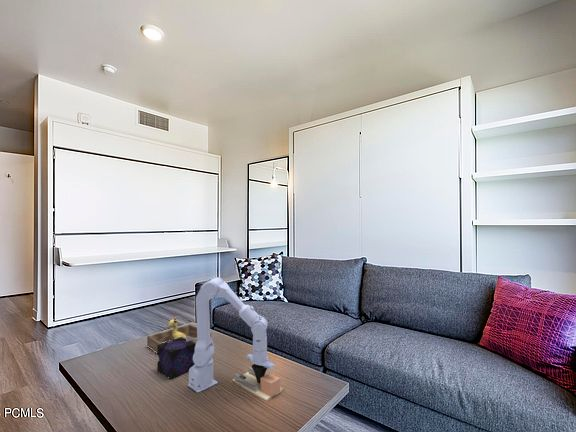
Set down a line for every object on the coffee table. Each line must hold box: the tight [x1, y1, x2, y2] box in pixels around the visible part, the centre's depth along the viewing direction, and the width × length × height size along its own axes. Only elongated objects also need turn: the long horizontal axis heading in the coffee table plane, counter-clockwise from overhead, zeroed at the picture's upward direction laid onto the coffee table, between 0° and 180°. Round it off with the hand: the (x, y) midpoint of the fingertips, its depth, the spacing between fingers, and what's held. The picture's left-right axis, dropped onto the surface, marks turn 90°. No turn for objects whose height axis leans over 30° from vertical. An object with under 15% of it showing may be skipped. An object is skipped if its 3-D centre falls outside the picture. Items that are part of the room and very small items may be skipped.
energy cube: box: [156, 337, 195, 380], centre depth 137 cm, size 12×12×12 cm
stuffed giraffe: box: [166, 316, 195, 343], centre depth 163 cm, size 16×18×16 cm
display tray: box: [146, 323, 212, 352], centre depth 163 cm, size 25×23×6 cm
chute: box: [231, 366, 285, 402], centre depth 123 cm, size 10×21×4 cm, turn 48°
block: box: [261, 373, 281, 398], centre depth 118 cm, size 5×6×5 cm
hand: (260, 382), depth 122 cm, fingers closed
